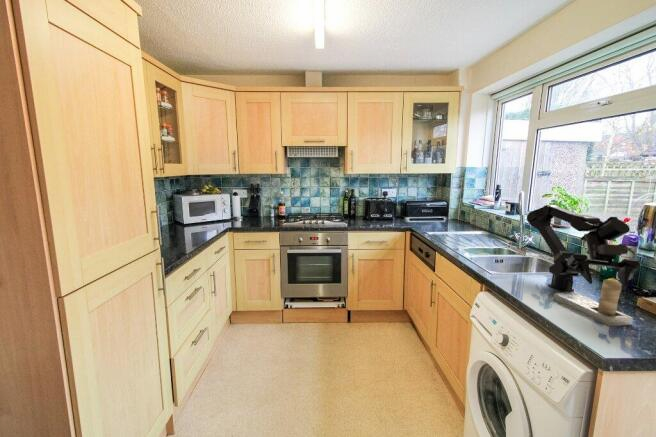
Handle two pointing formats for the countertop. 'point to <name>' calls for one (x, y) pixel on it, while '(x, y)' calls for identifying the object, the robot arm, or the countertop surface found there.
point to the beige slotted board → (591, 309)
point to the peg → (609, 297)
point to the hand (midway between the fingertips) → (607, 285)
